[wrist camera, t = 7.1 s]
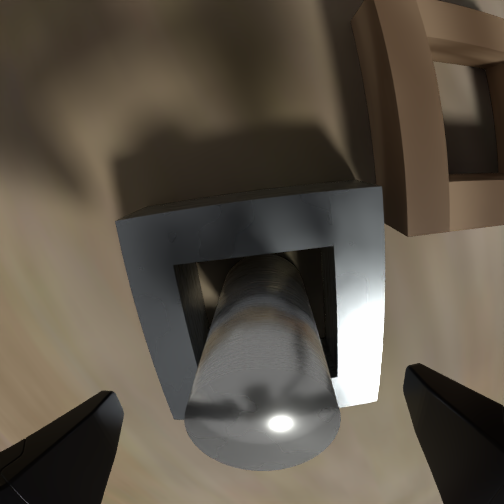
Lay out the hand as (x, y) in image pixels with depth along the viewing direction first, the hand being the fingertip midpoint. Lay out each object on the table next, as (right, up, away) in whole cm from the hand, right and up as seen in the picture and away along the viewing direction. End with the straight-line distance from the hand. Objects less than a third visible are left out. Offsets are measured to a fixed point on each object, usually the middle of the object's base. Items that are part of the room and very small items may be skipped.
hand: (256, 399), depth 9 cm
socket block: (+10, +11, +4) cm, 16 cm away
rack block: (0, +2, +7) cm, 8 cm away
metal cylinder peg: (0, +2, +7) cm, 8 cm away
